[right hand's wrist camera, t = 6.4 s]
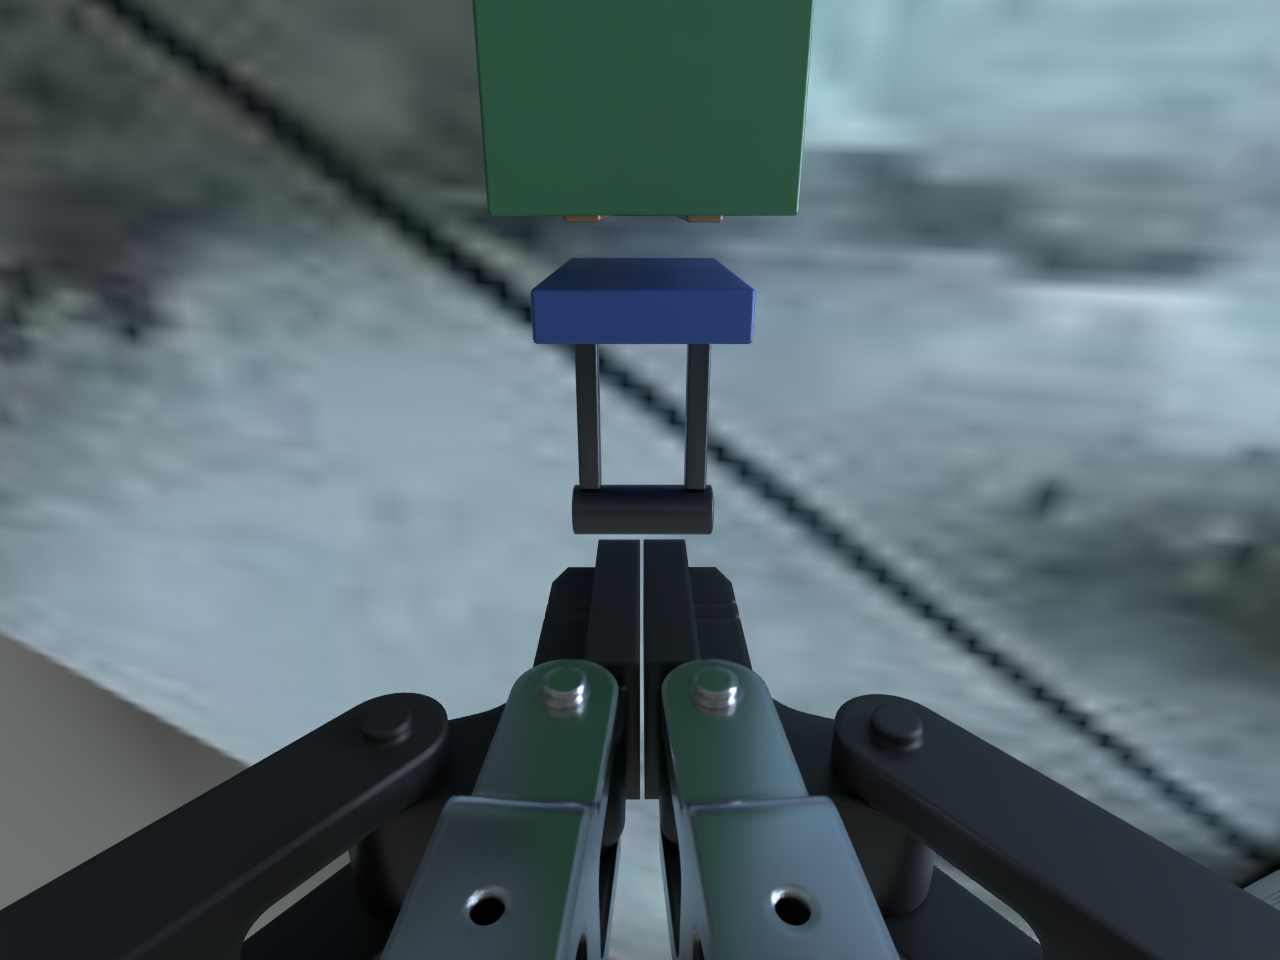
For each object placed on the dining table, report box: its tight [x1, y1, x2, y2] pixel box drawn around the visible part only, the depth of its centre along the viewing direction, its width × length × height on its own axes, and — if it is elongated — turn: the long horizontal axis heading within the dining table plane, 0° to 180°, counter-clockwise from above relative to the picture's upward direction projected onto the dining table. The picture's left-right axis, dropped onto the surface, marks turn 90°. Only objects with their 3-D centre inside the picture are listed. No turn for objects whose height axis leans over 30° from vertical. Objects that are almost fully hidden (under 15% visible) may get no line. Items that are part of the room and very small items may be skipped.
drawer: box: [531, 216, 756, 534], centre depth 18 cm, size 25×5×9 cm, turn 0°
